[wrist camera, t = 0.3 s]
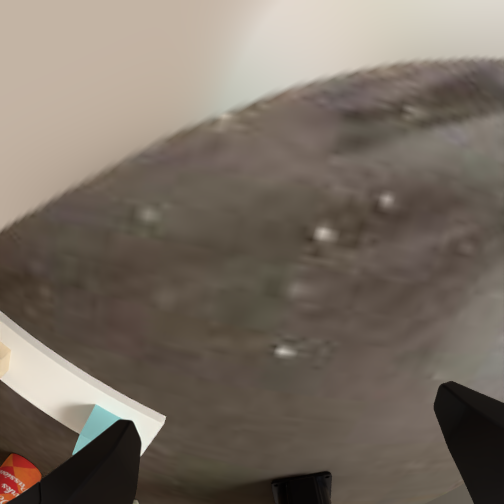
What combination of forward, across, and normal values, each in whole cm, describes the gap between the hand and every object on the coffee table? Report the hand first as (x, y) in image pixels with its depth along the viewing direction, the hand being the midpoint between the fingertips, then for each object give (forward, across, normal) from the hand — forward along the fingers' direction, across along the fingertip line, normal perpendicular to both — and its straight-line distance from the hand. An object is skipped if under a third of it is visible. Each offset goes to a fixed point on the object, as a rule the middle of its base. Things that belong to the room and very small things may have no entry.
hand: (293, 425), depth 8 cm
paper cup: (+15, +36, +27) cm, 47 cm away
